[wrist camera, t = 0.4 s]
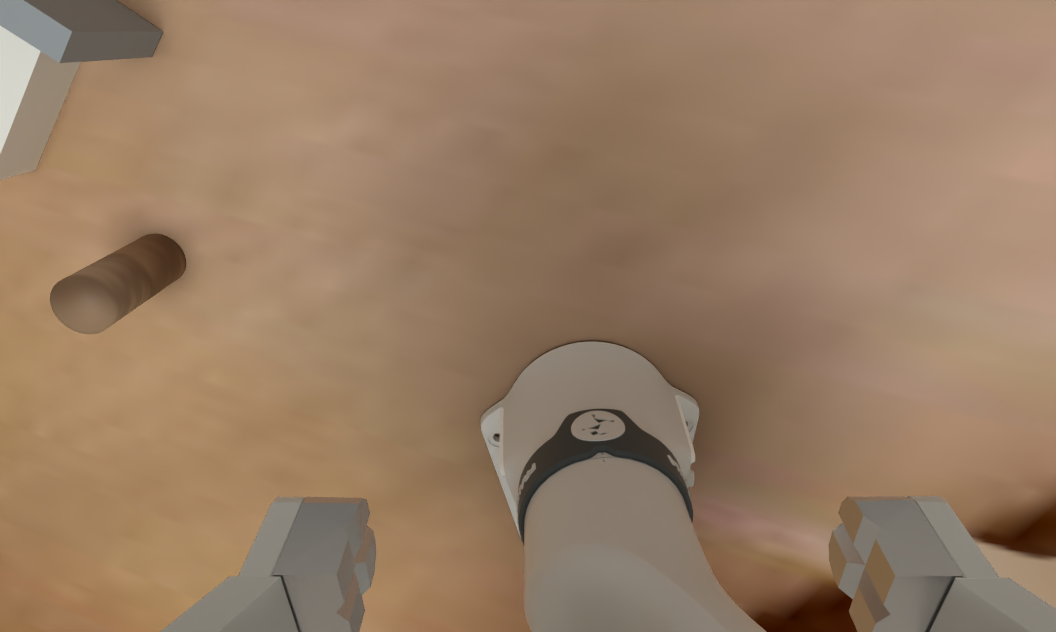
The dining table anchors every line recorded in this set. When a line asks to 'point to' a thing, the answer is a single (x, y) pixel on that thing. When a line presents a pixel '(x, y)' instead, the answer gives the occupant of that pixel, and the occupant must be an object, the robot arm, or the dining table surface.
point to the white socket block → (28, 102)
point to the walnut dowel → (117, 284)
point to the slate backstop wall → (80, 29)
